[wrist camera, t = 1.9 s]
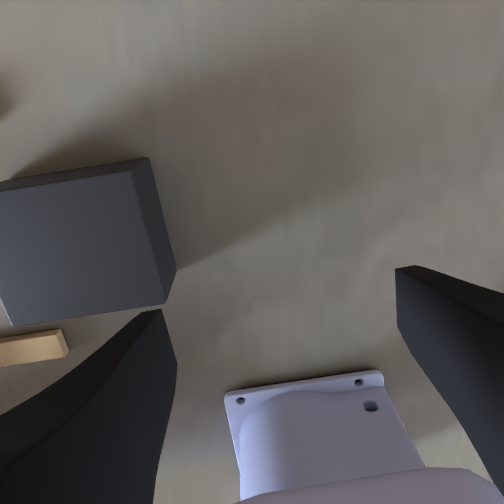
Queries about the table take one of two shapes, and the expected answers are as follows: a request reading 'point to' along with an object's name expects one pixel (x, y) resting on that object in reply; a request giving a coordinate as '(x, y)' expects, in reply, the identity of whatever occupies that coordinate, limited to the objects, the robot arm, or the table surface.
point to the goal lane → (32, 347)
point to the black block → (83, 243)
